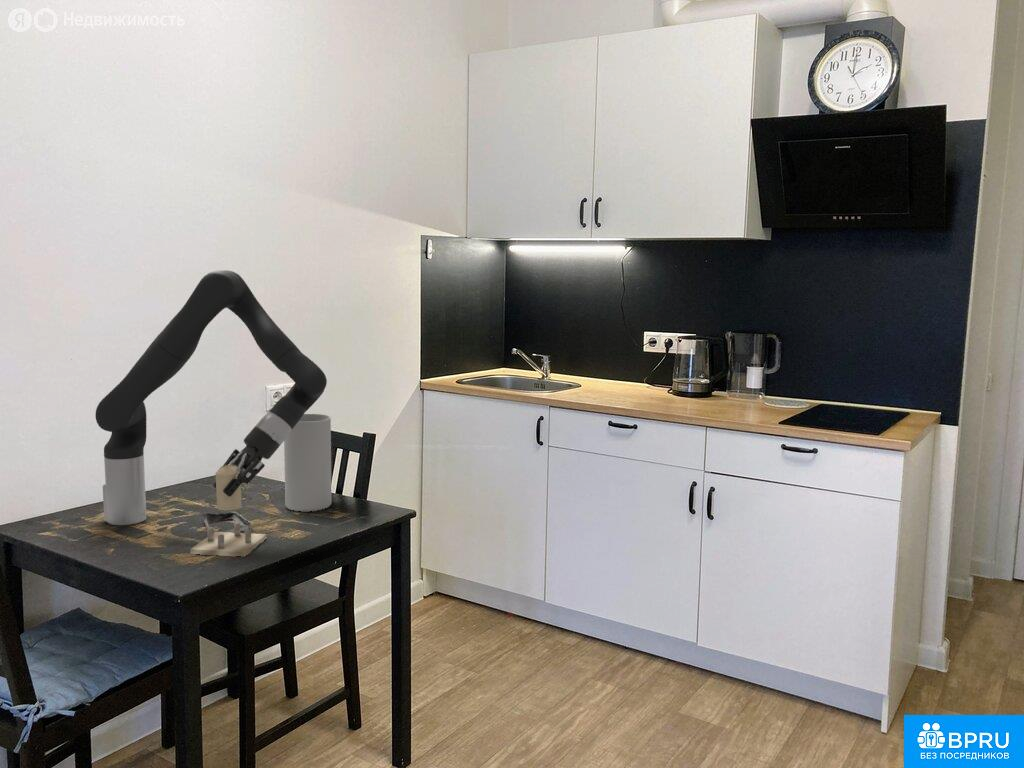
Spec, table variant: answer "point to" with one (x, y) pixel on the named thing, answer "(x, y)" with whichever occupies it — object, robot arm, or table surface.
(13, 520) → the table surface
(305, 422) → the cylinder vase
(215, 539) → the candle plate
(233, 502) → the candle
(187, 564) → the table surface
